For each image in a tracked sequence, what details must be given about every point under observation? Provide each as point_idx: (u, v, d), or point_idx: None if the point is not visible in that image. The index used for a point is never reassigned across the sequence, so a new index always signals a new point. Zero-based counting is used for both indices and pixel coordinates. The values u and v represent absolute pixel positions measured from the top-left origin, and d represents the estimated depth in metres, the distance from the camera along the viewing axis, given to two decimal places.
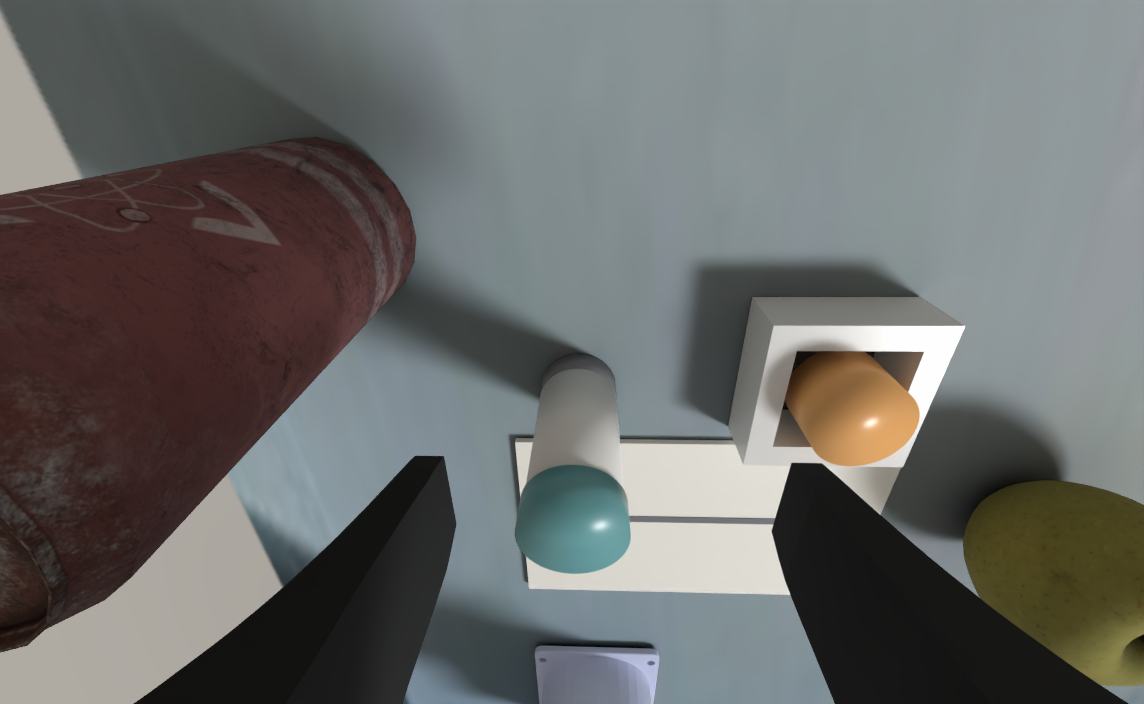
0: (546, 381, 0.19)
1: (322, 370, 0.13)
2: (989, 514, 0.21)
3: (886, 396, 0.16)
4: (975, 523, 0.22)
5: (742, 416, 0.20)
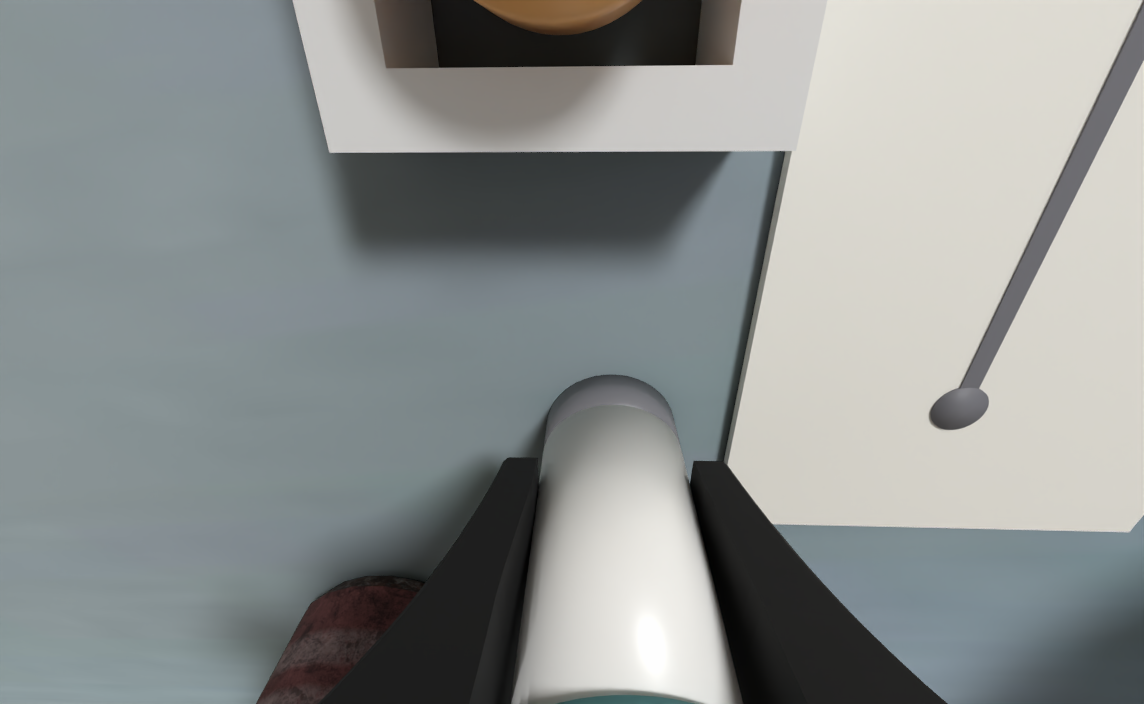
0: None
1: None
2: None
3: None
4: None
5: None
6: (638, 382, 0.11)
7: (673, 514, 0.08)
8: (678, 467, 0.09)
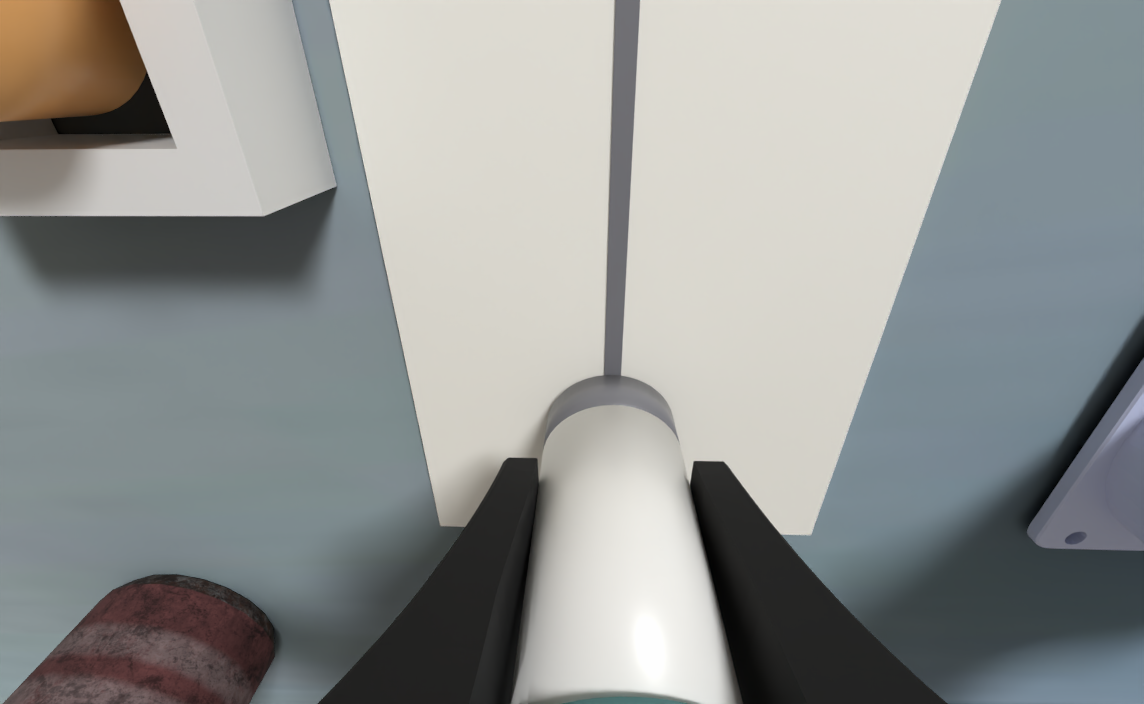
0: None
1: None
2: None
3: None
4: None
5: None
6: (638, 382, 0.11)
7: (673, 514, 0.08)
8: (678, 467, 0.09)
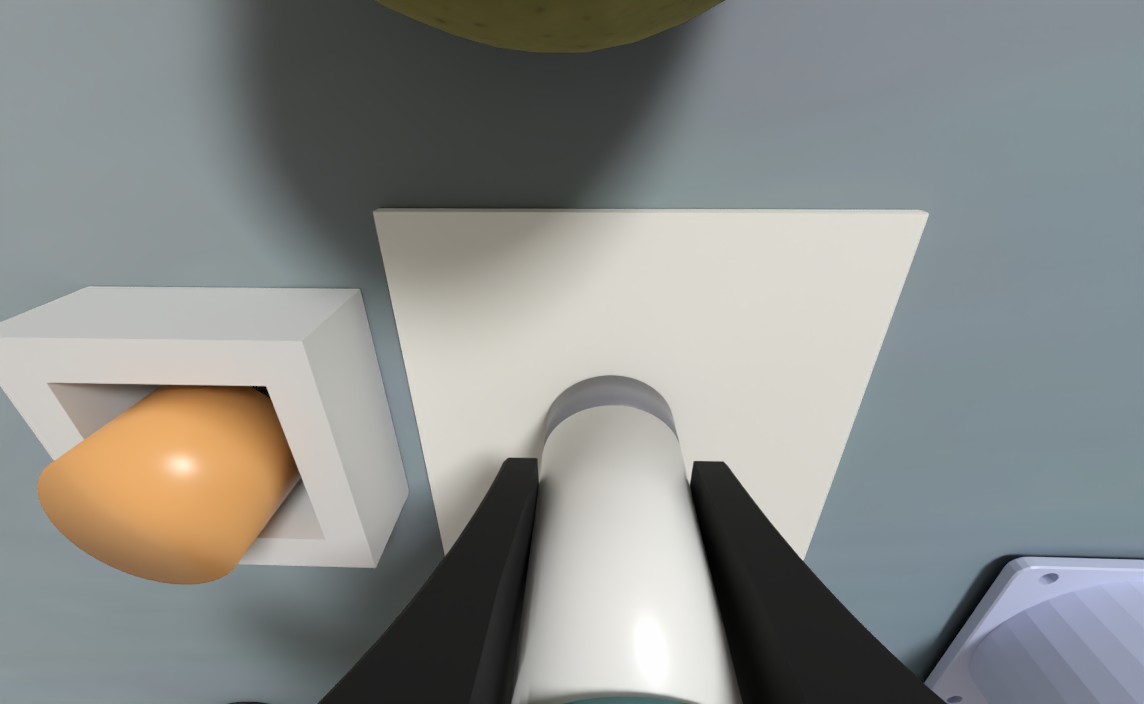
0: None
1: None
2: None
3: (66, 509, 0.09)
4: None
5: None
6: (638, 383, 0.11)
7: (673, 515, 0.08)
8: (678, 468, 0.09)
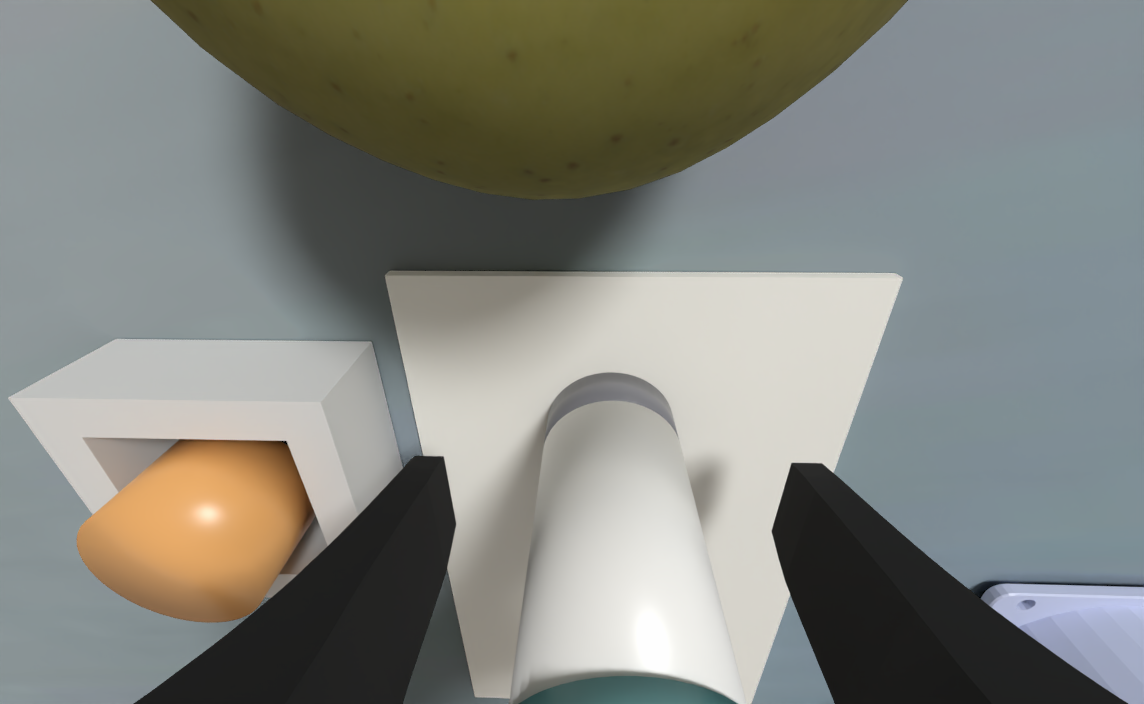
0: None
1: None
2: None
3: (102, 556, 0.10)
4: None
5: None
6: (637, 380, 0.11)
7: (672, 505, 0.08)
8: (677, 461, 0.09)
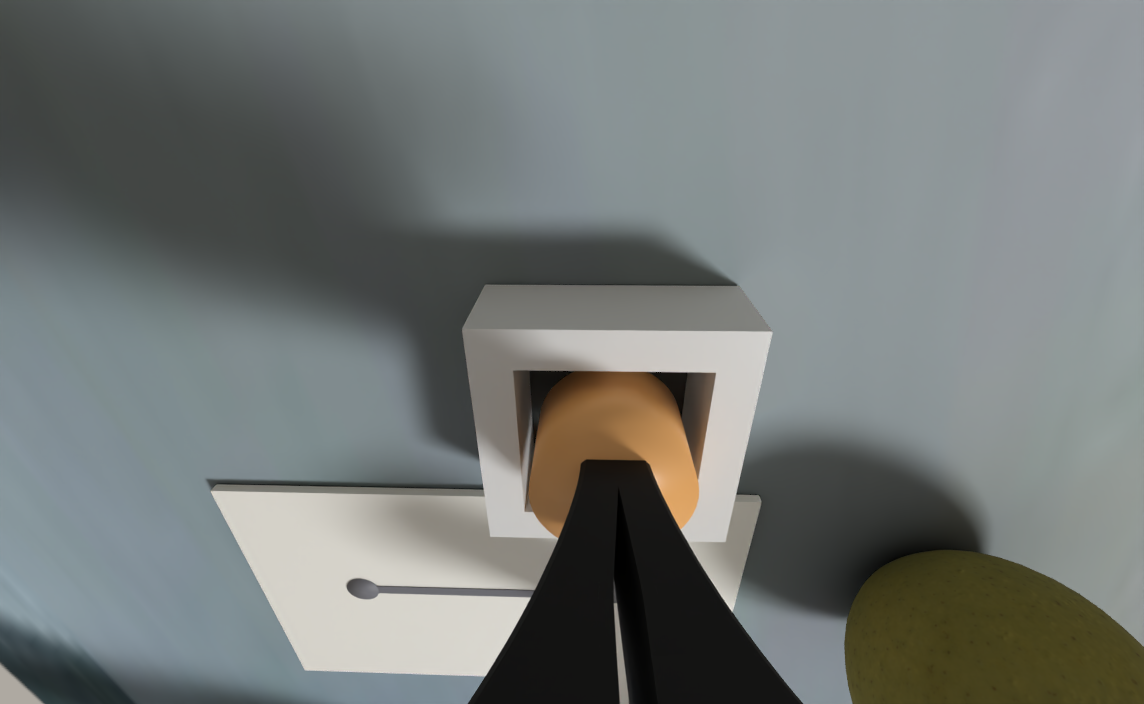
0: None
1: None
2: (872, 600, 0.15)
3: (634, 449, 0.09)
4: (856, 610, 0.15)
5: None
6: None
7: None
8: None
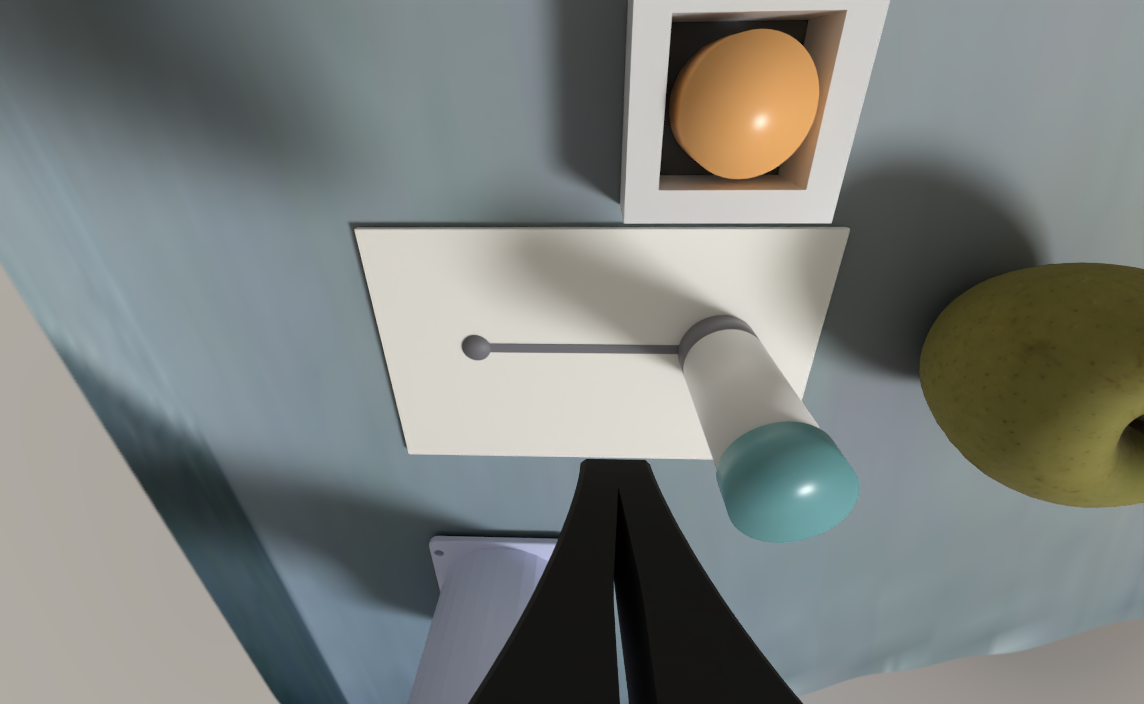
0: (693, 344, 0.18)
1: None
2: (949, 313, 0.17)
3: (773, 51, 0.12)
4: (933, 331, 0.17)
5: (624, 162, 0.15)
6: None
7: None
8: None
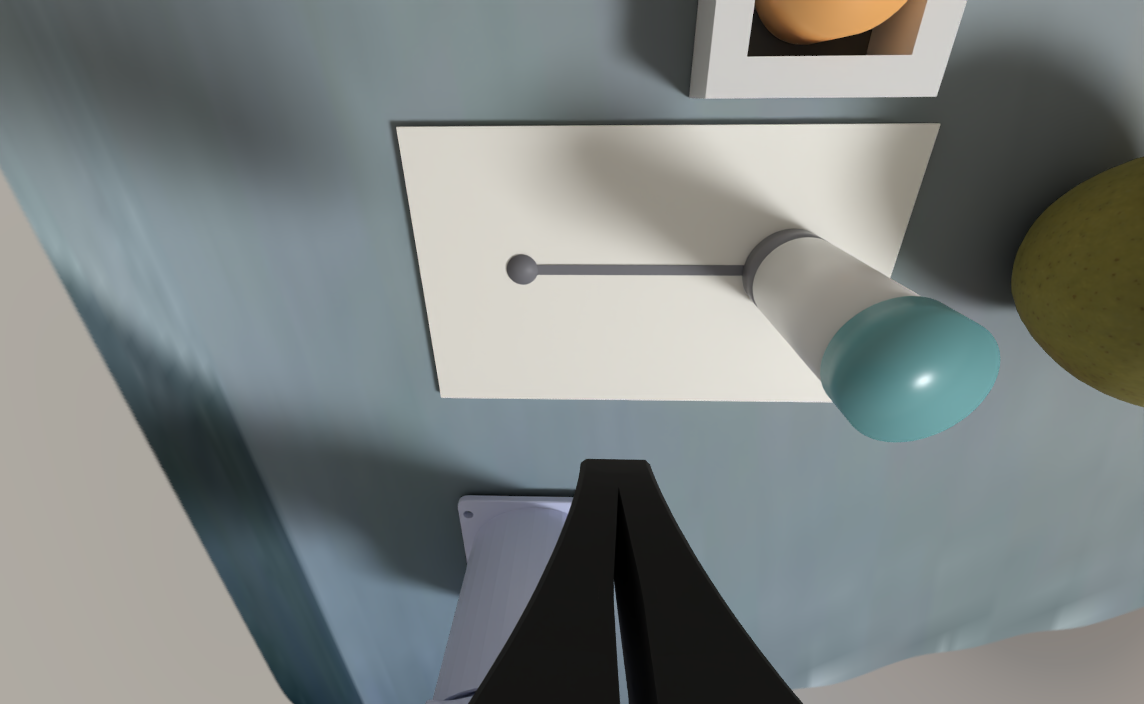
0: (766, 255, 0.17)
1: None
2: (1052, 214, 0.15)
3: None
4: (1030, 237, 0.16)
5: (704, 33, 0.14)
6: None
7: None
8: None
